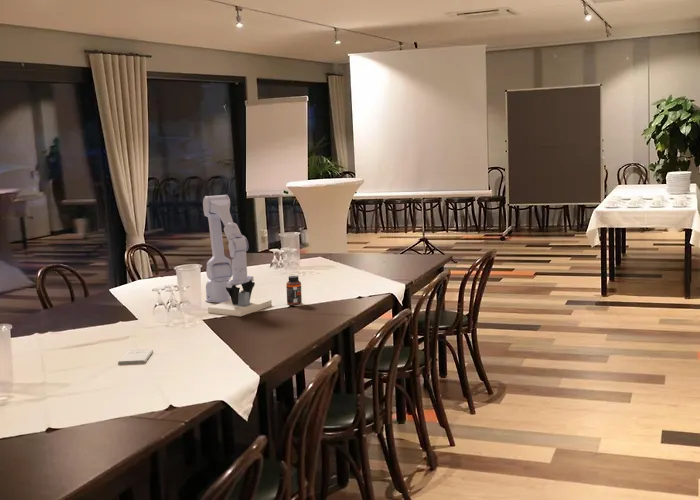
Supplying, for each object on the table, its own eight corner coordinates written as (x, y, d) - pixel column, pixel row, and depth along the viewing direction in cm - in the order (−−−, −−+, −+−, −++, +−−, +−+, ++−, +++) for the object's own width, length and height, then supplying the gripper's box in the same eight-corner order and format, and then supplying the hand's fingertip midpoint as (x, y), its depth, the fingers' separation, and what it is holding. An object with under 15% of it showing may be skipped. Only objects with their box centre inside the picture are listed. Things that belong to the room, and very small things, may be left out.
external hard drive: (118, 366, 236) (127, 354, 248) (145, 365, 236) (153, 353, 248) (117, 361, 236) (127, 349, 248) (145, 360, 236) (153, 348, 248)
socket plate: (208, 312, 302) (207, 305, 301) (240, 302, 319) (239, 295, 318) (240, 316, 294) (240, 308, 293) (271, 305, 311) (271, 298, 310)
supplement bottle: (299, 305, 309) (298, 277, 307) (285, 305, 310) (284, 277, 308) (303, 302, 314) (302, 275, 313) (289, 302, 316) (288, 275, 314)
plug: (237, 310, 304) (236, 291, 303) (242, 308, 306) (241, 289, 305) (245, 311, 302) (244, 291, 301) (250, 309, 304) (249, 290, 303)
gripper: (235, 272, 294) (237, 307, 296) (259, 265, 306) (260, 299, 308) (221, 270, 297) (223, 305, 299) (244, 264, 310) (246, 298, 312)
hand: (241, 302), depth 304 cm, fingers open, 7 cm apart
